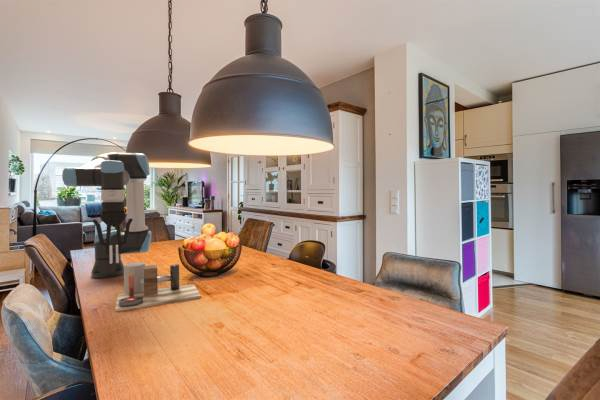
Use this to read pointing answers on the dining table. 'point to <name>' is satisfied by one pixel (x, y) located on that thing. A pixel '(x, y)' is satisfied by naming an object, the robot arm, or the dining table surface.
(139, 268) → the beige solid cylinder
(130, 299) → the handwheel
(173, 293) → the block
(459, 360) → the dining table surface
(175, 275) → the t-handle
